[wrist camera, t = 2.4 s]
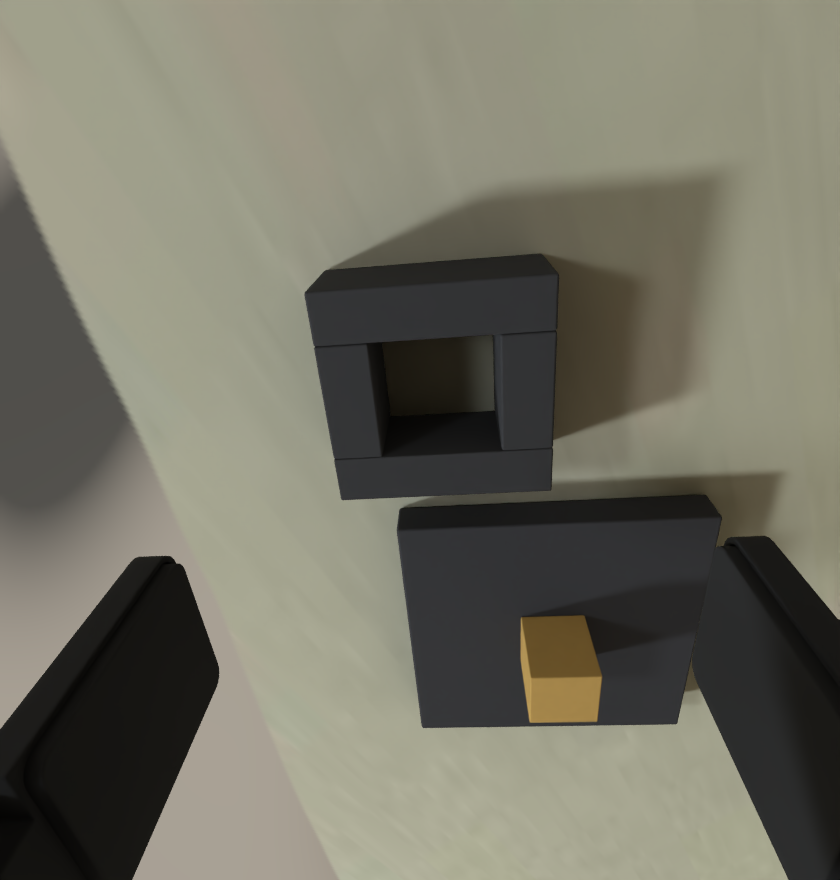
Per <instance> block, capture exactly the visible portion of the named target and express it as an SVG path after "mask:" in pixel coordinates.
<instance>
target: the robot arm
mask: <svg viewBox="0 0 840 880" xmlns="http://www.w3.org/2000/svg"><path fill="white" fill-rule="evenodd" d="M692 667H693V672H694V676H695V679H696V681H697V684H698V686H699V688H700V690H701V692H702V694H703V696H704V699H705V701H706V703H707V705H708V707H709V709H710V712H711V714H712V716H713V718H714V720H715V722H716V724H717V727H718V729H719V731H720V733H721V735H722V737H723V740H724V742H725V744H726V746H727V748H728V750H729V752H730V755H731V757H732V759H733V761H734V763H735V765H736V768H737V770H738V772H739V774H740V776H741V778H742V780H743V783H744V785H745V787H746V789H747V791H748V793H749V795H750V798H751V800H752V802H753V804H754V806H755V808H756V811H757V813H758V815H759V817H760V819H761V821H762V823H763V826H764V828H765V830H766V832H767V834H768V836H769V839H770V841H771V843H772V845H773V847H774V849H775V851H776V854H777V856H778V858H779V860H780V862H781V864H782V866H783V869H784V871H785V873H786V875H787V877H788V879H789V880H840V620H839V619H837V618H836V616H835V615H834V614H833V613H832V612H831V610H830V609H829V608H828V607H827V606H826V604H825V603H824V602H823V601H822V600H821V598H820V597H819V596H818V595H817V594H816V592H815V591H814V590H813V589H812V588H811V586H810V585H809V584H808V583H807V581H806V580H805V579H804V578H803V577H802V575H801V574H800V573H799V572H798V571H797V569H796V568H795V567H794V566H793V565H792V563H791V562H790V561H789V560H788V559H787V557H786V556H785V555H784V554H783V553H782V551H781V550H780V549H779V548H778V547H777V545H776V544H775V543H774V542H773V541H772V540H771V539H770V538H769V537H766V536H751V537H730V538H728V539H727V540H726V541H725V544H724V546H719V547H717V548H716V549H715V551H714V554H713V559H712V564H711V569H710V574H709V578H708V583H707V588H706V593H705V598H704V603H703V608H702V613H701V617H700V622H699V627H698V632H697V637H696V642H695V647H694V652H693V657H692ZM218 679H219V666H218V663H217V660H216V657H215V654H214V651H213V648H212V646H211V643H210V640H209V637H208V634H207V631H206V629H205V626H204V623H203V620H202V617H201V615H200V612H199V609H198V606H197V603H196V600H195V597H194V595H193V592H192V589H191V586H190V583H189V580H188V578H187V575H186V572H185V569H184V567H183V566H182V565H181V564H176V562H175V560H174V559H173V558H172V557H170V556H149V557H137V558H135V559H134V560H133V561H132V562H131V563H130V564H129V565H128V566H127V568H126V569H125V570H124V572H123V573H122V574H121V575H120V577H119V578H118V579H117V580H116V582H115V583H114V584H113V586H112V587H111V588H110V590H109V591H108V592H107V594H106V595H105V596H104V597H103V598H102V600H101V601H100V602H99V604H98V605H97V606H96V608H95V609H94V610H93V611H92V613H91V614H90V615H89V616H88V618H87V619H86V620H85V622H84V623H83V624H82V625H81V627H80V628H79V629H78V630H77V632H76V633H75V634H74V636H73V637H72V638H71V639H70V641H69V642H68V643H67V645H66V646H65V647H64V648H63V650H62V651H61V652H60V654H59V655H58V656H57V657H56V659H55V660H54V661H53V663H52V664H51V665H50V666H49V668H48V669H47V670H46V672H45V673H44V674H43V675H42V677H41V678H40V679H39V680H38V682H37V683H36V684H35V686H34V687H33V688H32V689H31V691H30V692H29V693H28V695H27V696H26V697H25V698H24V700H23V701H22V702H21V704H20V705H19V706H18V708H17V709H16V710H15V711H14V712H13V714H12V715H11V717H10V718H9V719H8V720H7V721H6V723H5V724H4V725H3V727H2V728H1V729H0V880H132V879H133V877H134V874H135V872H136V870H137V867H138V865H139V863H140V860H141V858H142V856H143V854H144V851H145V849H146V847H147V845H148V842H149V840H150V838H151V835H152V833H153V831H154V829H155V826H156V824H157V822H158V819H159V817H160V815H161V813H162V810H163V808H164V806H165V803H166V801H167V799H168V797H169V794H170V792H171V790H172V787H173V785H174V783H175V781H176V778H177V776H178V774H179V771H180V769H181V767H182V764H183V762H184V760H185V758H186V756H187V753H188V751H189V748H190V746H191V744H192V742H193V739H194V737H195V735H196V733H197V730H198V728H199V726H200V724H201V721H202V719H203V717H204V714H205V712H206V710H207V708H208V705H209V703H210V701H211V698H212V696H213V694H214V692H215V689H216V687H217V684H218Z"/></svg>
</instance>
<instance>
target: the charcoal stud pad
mask: <svg viewBox="0 0 840 880" xmlns="http://www.w3.org/2000/svg"><path fill="white" fill-rule="evenodd" d="M721 520H722V517H721V515H720V514H719V512H718V511H717V509H716V508H715V507H714V505H713V504H712V503H711V501H710V500H709V498H708V497H707V496H706V495H690V496H668V497H645V498H623V499H600V500H578V501H555V502H532V503H510V504H487V505H465V506H442V507H420V508H401V509H400V510H399V518H398V526H397V536H398V544H399V551H400V559H401V567H402V575H403V583H404V590H405V598H406V606H407V614H408V622H409V630H410V637H411V645H412V653H413V661H414V669H415V677H416V684H417V692H418V700H419V708H420V716H421V723H422V727H423V728H451V727H520V726H589V725H658V724H677V722H678V717H679V713H680V708H681V703H682V699H683V694H684V690H685V685H686V680H687V676H688V671H689V667H690V662H691V658H692V653H693V648H694V644H695V639H696V635H697V630H698V626H699V621H700V616H701V612H702V607H703V603H704V598H705V593H706V588H707V583H708V578H709V574H710V569H711V564H712V559H713V554H714V551H715V548H716V543H717V538H718V534H719V529H720V525H721Z"/></svg>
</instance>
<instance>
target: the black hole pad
mask: <svg viewBox="0 0 840 880" xmlns="http://www.w3.org/2000/svg"><path fill="white" fill-rule="evenodd" d="M558 291H559V274H558V273H557V271H556V270H555V269H554V268H553V267H552V266H551V264H550V263H549V262H548V261H547V260H546V258H545V257H544V256H543V255H542V254H529V255H516V256H503V257H490V258H477V259H464V260H451V261H438V262H426V263H413V264H400V265H387V266H374V267H361V268H348V269H335V270H326V271H324V272H323V273H322V274H321V275H320V277H319V278H318V279H317V280H316V281H315V282H314V283H313V284H312V285H311V286H310V287H309V289H308V290H307V291H306V292H305V300H306V306H307V311H308V317H309V322H310V328H311V333H312V339H313V344H314V346H315V348H314V350H315V356H316V361H317V367H318V372H319V378H320V383H321V389H322V394H323V400H324V405H325V411H326V416H327V422H328V428H329V433H330V439H331V444H332V450H333V455H334V458H335V460H334V461H335V467H336V472H337V478H338V483H339V489H340V495H341V499H342V500H354V499H376V498H398V497H420V496H441V495H463V494H485V493H507V492H529V491H550V490H551V487H552V460H553V448H552V446H553V429H554V401H555V374H556V346H557V332H556V329H557V318H558ZM481 335H493V354H494V403H495V411H485V412H467V413H450V414H432V415H415V416H397V417H390V407H389V399H388V390H387V382H386V374H385V365H384V357H383V349H382V342H392V341H407V340H421V339H436V338H451V337H466V336H481Z"/></svg>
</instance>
